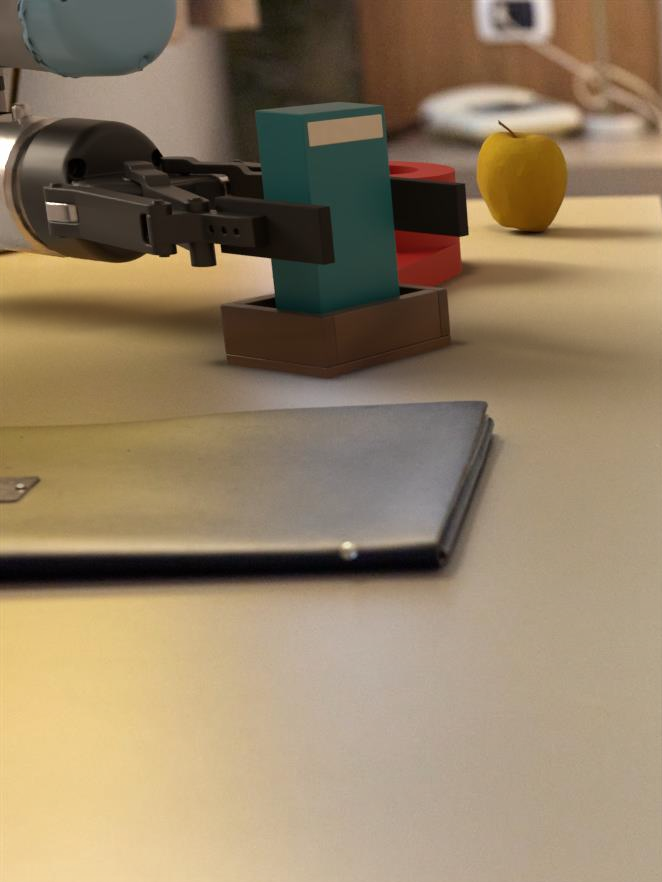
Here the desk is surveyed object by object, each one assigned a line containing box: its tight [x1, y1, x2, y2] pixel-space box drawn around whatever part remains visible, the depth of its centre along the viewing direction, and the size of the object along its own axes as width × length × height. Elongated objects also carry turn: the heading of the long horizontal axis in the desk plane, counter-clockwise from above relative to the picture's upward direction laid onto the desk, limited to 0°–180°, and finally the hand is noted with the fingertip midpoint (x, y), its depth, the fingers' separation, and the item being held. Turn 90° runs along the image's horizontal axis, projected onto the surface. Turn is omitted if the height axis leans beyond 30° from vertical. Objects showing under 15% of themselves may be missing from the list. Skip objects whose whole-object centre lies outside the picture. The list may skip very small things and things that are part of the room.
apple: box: [476, 119, 568, 233], centre depth 142 cm, size 6×6×8 cm
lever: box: [389, 160, 463, 287], centre depth 121 cm, size 18×9×7 cm, turn 10°
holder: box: [220, 283, 452, 380], centre depth 102 cm, size 10×7×3 cm
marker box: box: [254, 101, 400, 314], centre depth 100 cm, size 6×3×12 cm, turn 156°
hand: (397, 222), depth 99 cm, fingers open, 9 cm apart
